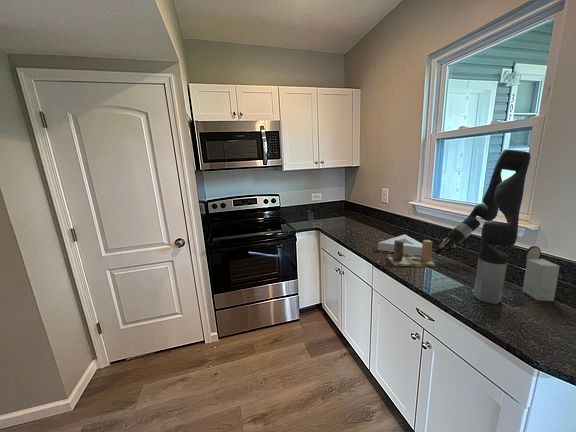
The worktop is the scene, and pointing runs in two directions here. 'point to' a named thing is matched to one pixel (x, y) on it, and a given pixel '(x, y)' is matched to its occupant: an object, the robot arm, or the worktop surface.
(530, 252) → the magnifying glass
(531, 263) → the skincare box
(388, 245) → the triangle block
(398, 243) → the fixed leg
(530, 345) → the worktop surface
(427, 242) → the block
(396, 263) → the board
